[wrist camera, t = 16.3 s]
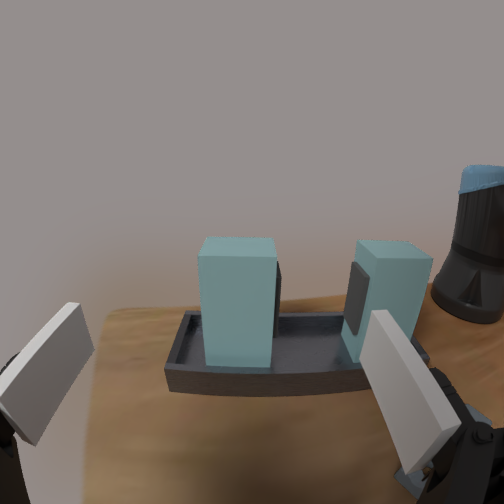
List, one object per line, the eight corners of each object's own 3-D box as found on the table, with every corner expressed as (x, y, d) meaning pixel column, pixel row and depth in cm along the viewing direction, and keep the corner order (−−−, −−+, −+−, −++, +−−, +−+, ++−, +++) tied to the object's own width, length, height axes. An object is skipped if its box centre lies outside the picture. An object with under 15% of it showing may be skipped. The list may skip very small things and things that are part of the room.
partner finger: (387, 331, 30) (408, 241, 26) (404, 356, 25) (433, 258, 22) (336, 334, 30) (352, 239, 26) (348, 363, 25) (371, 258, 22)
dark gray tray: (387, 329, 33) (392, 309, 32) (420, 379, 23) (430, 358, 22) (188, 331, 33) (185, 310, 32) (169, 391, 23) (164, 368, 22)
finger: (272, 336, 30) (278, 237, 26) (275, 367, 25) (283, 257, 22) (212, 335, 30) (207, 236, 26) (206, 365, 25) (197, 255, 22)
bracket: (483, 434, 15) (494, 420, 14) (420, 506, 11) (432, 496, 10) (458, 415, 18) (467, 401, 18) (390, 478, 14) (399, 467, 13)
